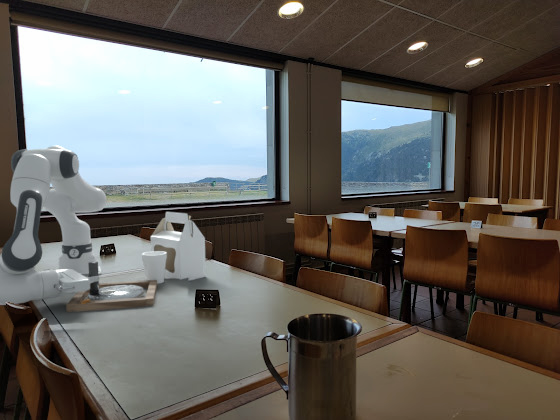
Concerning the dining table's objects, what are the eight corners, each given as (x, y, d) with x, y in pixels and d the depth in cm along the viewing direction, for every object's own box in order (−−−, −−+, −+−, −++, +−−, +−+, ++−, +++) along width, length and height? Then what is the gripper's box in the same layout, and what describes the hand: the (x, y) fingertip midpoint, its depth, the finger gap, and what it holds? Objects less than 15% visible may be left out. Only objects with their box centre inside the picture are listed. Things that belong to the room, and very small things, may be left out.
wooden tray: (84, 293, 154) (84, 282, 153) (157, 288, 160) (156, 277, 159) (66, 316, 128) (65, 302, 128) (153, 309, 135) (153, 296, 134)
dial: (140, 288, 156) (139, 254, 155) (146, 300, 140) (145, 263, 139) (88, 293, 148) (86, 258, 147) (88, 308, 132) (86, 268, 131)
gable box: (206, 277, 179) (205, 212, 176) (180, 283, 169) (179, 215, 167) (176, 269, 193) (174, 210, 191) (151, 274, 183) (149, 212, 181)
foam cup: (160, 288, 160) (159, 255, 159) (138, 287, 162) (137, 255, 161) (171, 282, 169) (170, 251, 168) (150, 281, 171) (149, 250, 170)
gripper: (58, 280, 123) (106, 272, 132) (42, 268, 138) (86, 262, 148) (59, 300, 124) (106, 292, 133) (43, 287, 139) (87, 280, 148)
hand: (95, 276), depth 140 cm, fingers open, 4 cm apart
